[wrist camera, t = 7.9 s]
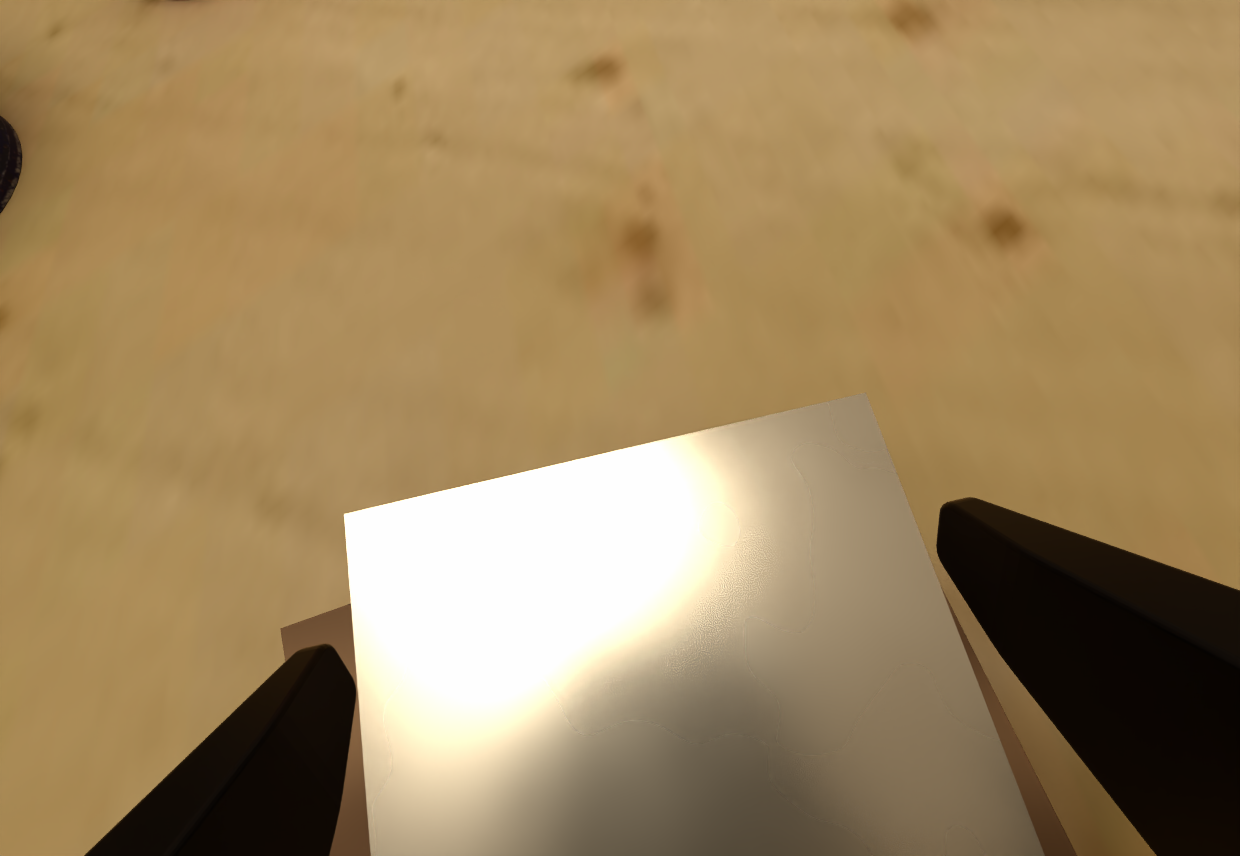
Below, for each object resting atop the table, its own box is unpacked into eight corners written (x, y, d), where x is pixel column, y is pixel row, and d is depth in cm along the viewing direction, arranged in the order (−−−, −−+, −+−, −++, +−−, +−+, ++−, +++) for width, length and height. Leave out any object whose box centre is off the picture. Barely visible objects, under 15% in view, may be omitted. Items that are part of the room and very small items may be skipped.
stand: (1007, 821, 16) (1083, 868, 14) (414, 1060, 15) (361, 1165, 13) (827, 448, 20) (858, 423, 17) (335, 624, 19) (280, 628, 16)
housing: (783, 731, 15) (1124, 1061, 4) (578, 782, 15) (402, 1252, 4) (725, 526, 16) (865, 392, 6) (540, 570, 16) (343, 514, 6)
